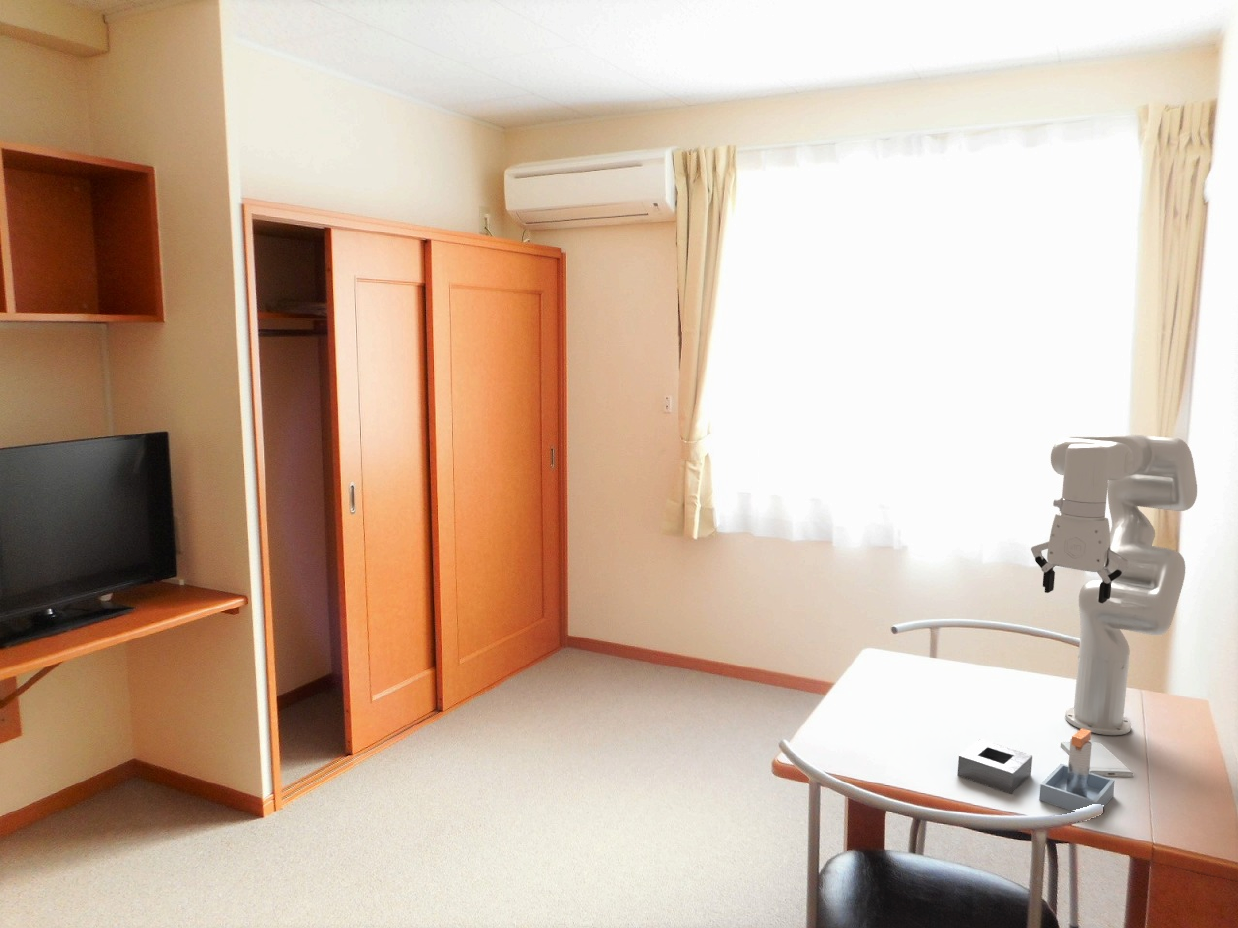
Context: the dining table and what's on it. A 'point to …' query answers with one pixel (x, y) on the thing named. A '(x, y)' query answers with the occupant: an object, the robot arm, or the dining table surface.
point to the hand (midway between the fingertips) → (1075, 596)
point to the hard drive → (1103, 761)
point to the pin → (1079, 763)
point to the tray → (1057, 794)
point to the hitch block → (995, 766)
